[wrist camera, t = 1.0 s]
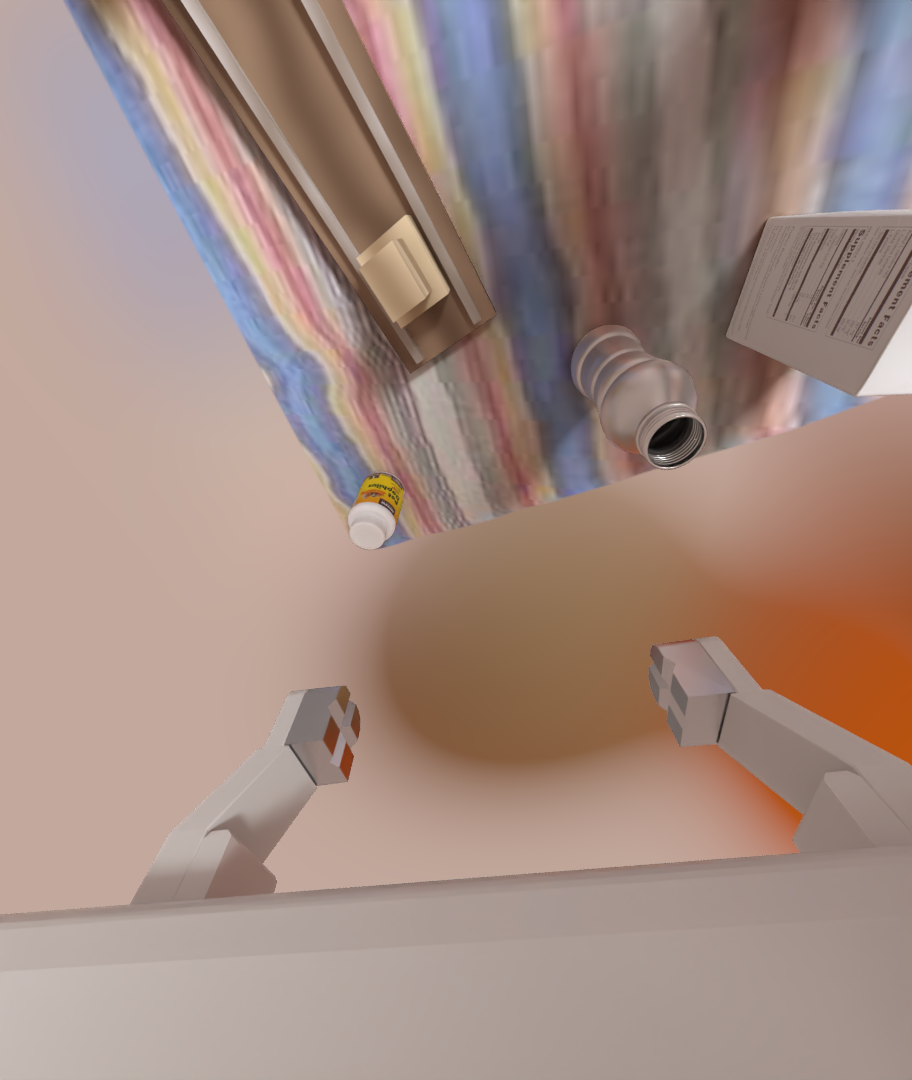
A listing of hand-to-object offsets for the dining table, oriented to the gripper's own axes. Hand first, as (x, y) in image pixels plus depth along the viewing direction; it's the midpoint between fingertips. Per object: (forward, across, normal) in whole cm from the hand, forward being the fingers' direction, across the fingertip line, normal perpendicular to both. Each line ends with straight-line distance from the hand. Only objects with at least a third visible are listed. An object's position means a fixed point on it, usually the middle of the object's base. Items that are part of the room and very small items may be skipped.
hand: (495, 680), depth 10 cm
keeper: (+34, +3, -13) cm, 37 cm away
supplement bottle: (+40, +12, +9) cm, 43 cm away
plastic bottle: (+36, -14, -2) cm, 39 cm away
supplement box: (+35, -31, -6) cm, 47 cm away
